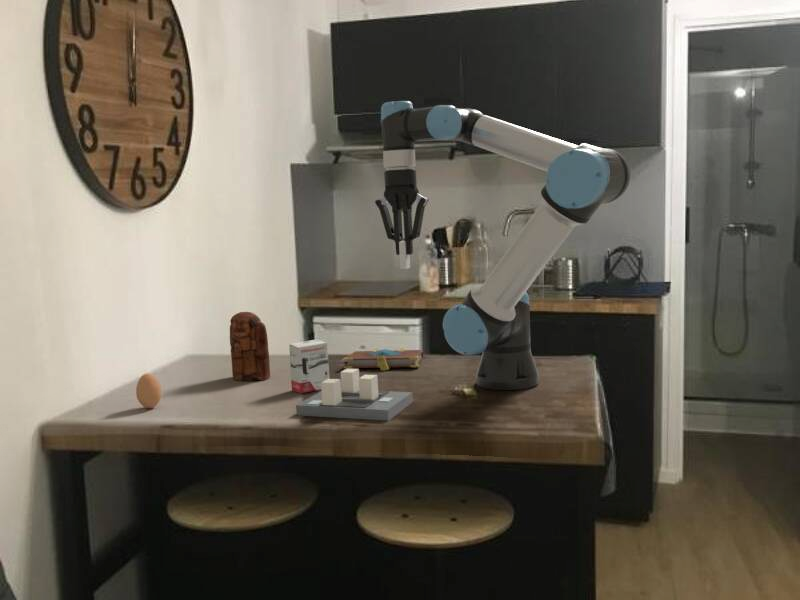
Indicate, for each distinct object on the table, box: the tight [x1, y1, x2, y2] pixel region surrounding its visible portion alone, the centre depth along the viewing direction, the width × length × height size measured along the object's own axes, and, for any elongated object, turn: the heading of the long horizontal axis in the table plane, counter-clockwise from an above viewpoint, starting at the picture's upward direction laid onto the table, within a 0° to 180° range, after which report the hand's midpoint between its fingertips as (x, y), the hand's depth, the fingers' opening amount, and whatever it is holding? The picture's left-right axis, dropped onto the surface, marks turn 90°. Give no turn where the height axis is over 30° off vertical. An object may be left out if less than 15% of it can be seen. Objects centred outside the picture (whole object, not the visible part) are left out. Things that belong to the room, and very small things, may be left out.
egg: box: [135, 373, 162, 409], centre depth 201 cm, size 6×6×8 cm
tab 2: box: [340, 368, 360, 392], centre depth 196 cm, size 3×4×5 cm
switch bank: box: [295, 388, 414, 422], centre depth 191 cm, size 22×15×3 cm
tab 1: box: [320, 378, 342, 405], centre depth 187 cm, size 3×4×5 cm
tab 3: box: [359, 374, 379, 399], centre depth 189 cm, size 3×4×5 cm
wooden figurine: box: [229, 311, 271, 382], centre depth 225 cm, size 12×6×18 cm, turn 73°
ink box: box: [288, 339, 330, 394], centre depth 211 cm, size 8×5×12 cm, turn 123°
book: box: [339, 348, 424, 372], centre depth 235 cm, size 16×25×5 cm, turn 81°
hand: (405, 268), depth 203 cm, fingers closed
